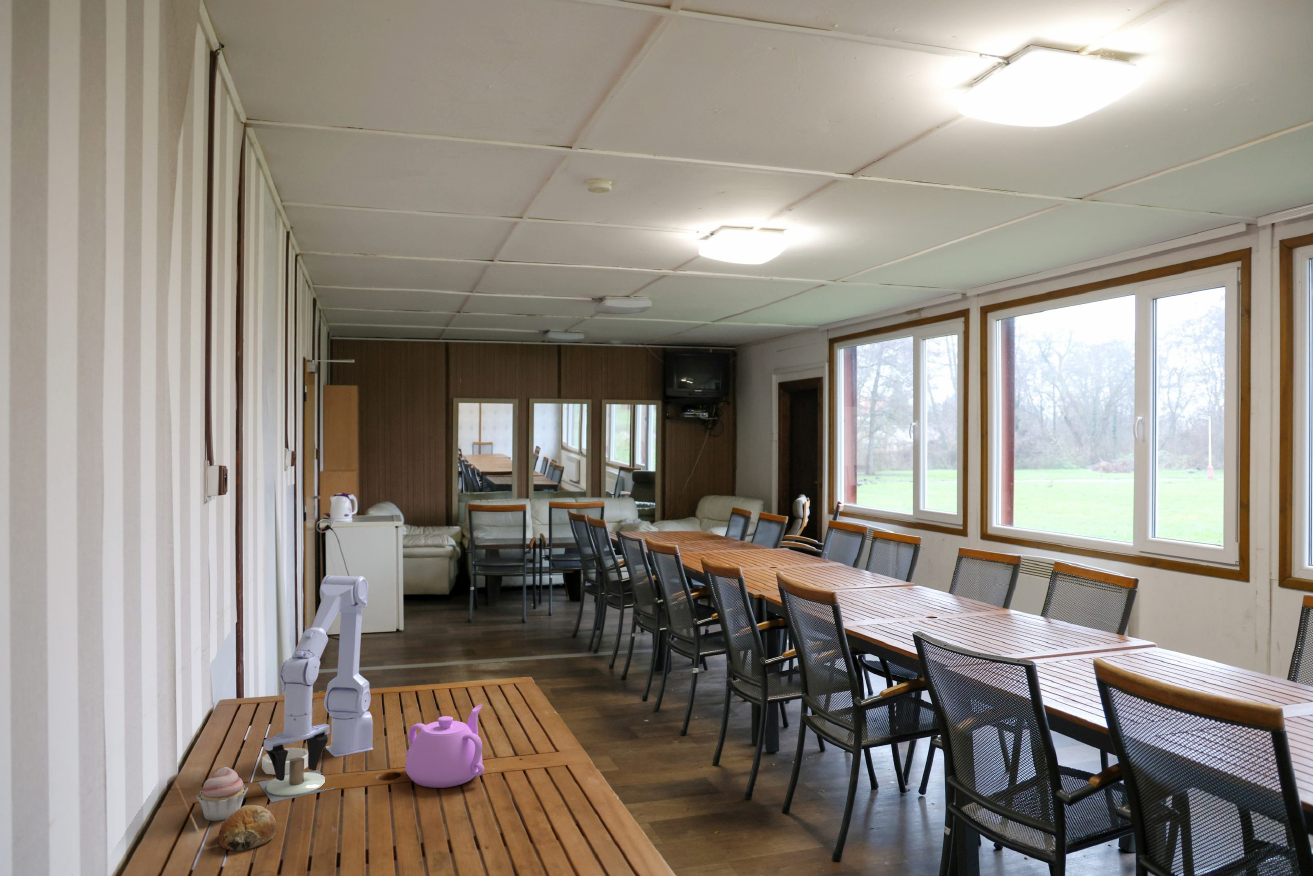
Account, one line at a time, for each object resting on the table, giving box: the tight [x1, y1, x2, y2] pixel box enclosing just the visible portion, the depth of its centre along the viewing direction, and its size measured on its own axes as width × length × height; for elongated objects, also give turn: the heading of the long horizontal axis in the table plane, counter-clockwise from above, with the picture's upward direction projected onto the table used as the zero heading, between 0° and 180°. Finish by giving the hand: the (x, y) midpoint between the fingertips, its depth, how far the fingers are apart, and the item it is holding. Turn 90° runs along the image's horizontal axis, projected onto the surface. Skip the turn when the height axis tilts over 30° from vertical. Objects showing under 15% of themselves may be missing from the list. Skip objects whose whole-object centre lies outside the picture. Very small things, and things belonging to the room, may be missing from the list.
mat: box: [257, 769, 336, 803], centre depth 187 cm, size 13×13×1 cm
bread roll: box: [218, 804, 277, 852], centre depth 163 cm, size 10×10×8 cm
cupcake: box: [196, 766, 249, 822], centre depth 172 cm, size 9×9×10 cm
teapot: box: [405, 704, 485, 789], centre depth 197 cm, size 22×22×14 cm
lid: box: [267, 758, 326, 796], centre depth 188 cm, size 12×12×6 cm
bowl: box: [261, 747, 308, 775], centre depth 198 cm, size 10×10×3 cm
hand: (296, 774), depth 187 cm, fingers open, 7 cm apart
